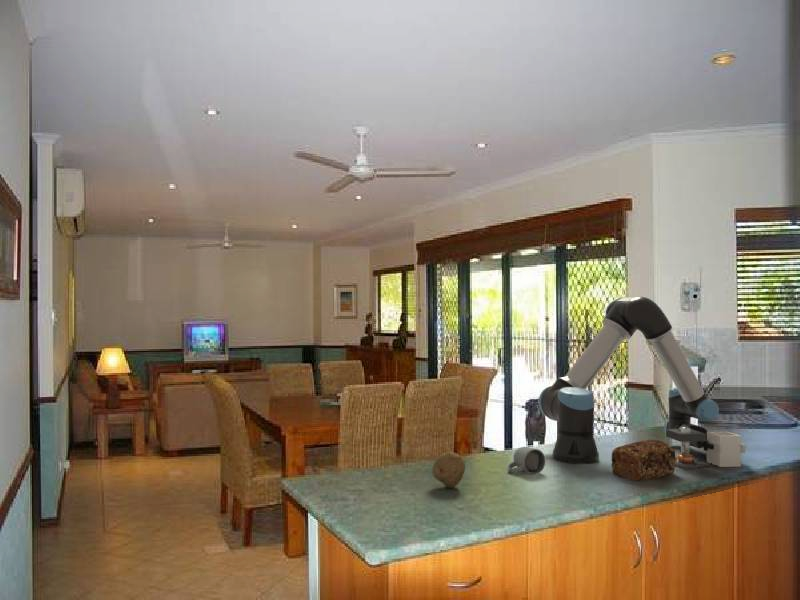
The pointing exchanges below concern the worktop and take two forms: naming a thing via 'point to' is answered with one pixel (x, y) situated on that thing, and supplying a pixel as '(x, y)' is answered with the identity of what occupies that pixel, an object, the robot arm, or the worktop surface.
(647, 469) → the bread
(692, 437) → the dark grey square slab
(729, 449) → the sleeve
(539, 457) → the ceramic mug
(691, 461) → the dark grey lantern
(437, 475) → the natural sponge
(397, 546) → the worktop surface
